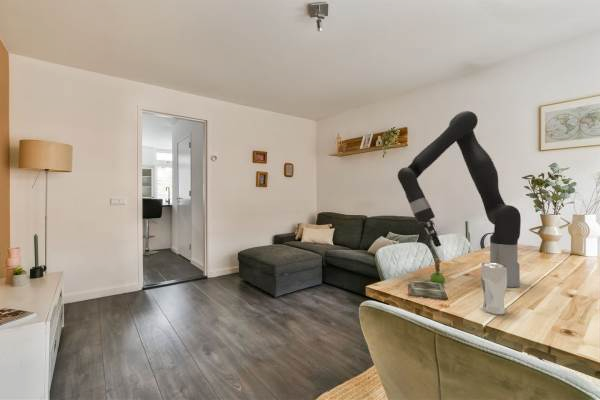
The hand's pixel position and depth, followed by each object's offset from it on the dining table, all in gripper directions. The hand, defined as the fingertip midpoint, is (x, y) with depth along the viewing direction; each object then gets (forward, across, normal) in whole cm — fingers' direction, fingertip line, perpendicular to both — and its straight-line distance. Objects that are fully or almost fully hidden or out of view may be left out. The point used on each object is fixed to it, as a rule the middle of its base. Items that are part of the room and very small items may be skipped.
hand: (438, 246), depth 115 cm
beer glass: (+24, -19, -6) cm, 31 cm away
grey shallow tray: (+15, -10, +11) cm, 21 cm away
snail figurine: (+15, +1, +7) cm, 17 cm away
